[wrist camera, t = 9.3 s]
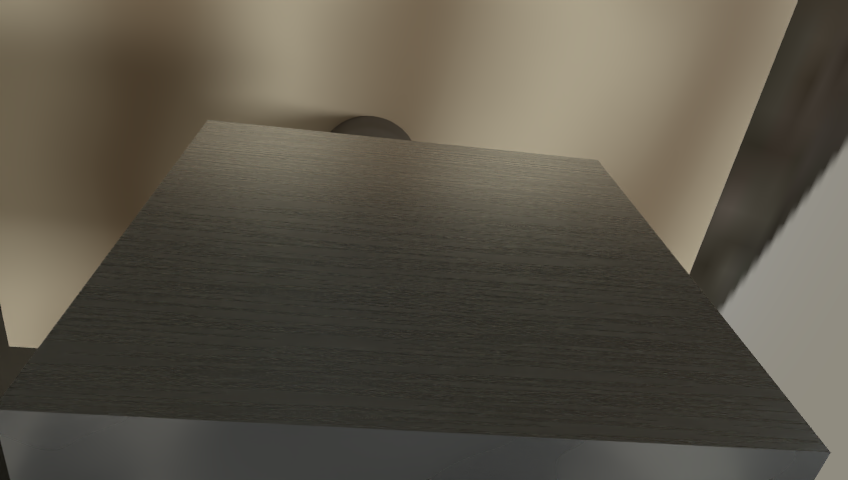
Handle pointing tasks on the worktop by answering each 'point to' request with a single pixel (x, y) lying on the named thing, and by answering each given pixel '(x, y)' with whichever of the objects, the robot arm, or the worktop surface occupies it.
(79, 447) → the steel collar
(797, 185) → the worktop surface
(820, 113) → the worktop surface
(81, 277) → the hub base
